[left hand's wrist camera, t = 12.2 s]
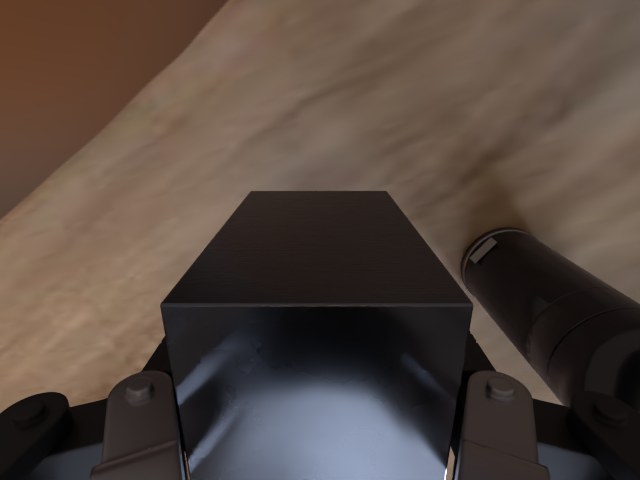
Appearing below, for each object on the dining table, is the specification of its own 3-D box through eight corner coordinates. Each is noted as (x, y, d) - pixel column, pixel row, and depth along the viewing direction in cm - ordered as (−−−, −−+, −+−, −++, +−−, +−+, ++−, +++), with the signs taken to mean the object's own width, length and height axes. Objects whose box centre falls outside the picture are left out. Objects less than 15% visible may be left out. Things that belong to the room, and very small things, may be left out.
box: (250, 190, 16) (158, 304, 7) (386, 190, 16) (475, 303, 7) (273, 530, 23) (244, 796, 14) (365, 530, 23) (393, 795, 14)
